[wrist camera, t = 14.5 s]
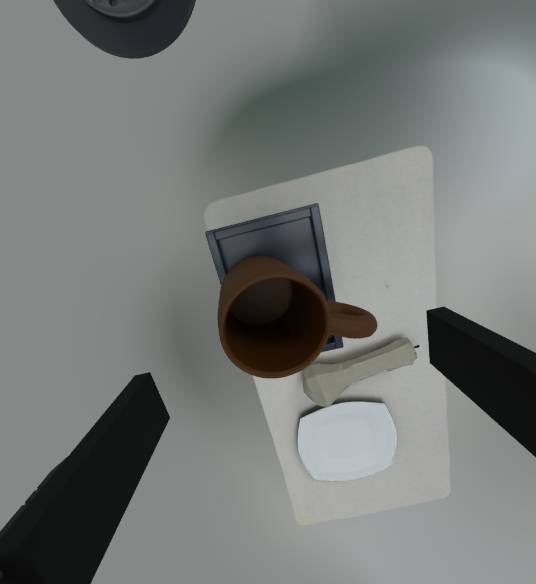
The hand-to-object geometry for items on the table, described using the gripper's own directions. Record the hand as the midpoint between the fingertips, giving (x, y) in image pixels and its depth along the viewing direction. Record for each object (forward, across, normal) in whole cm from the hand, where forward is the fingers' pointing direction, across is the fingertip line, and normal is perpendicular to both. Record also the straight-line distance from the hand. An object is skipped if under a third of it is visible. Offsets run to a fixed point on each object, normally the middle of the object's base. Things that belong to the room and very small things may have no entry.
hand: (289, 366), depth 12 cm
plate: (+37, +7, -47) cm, 60 cm away
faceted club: (+37, +12, -27) cm, 47 cm away
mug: (+14, 0, -1) cm, 14 cm away
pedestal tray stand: (+37, 0, -1) cm, 37 cm away
